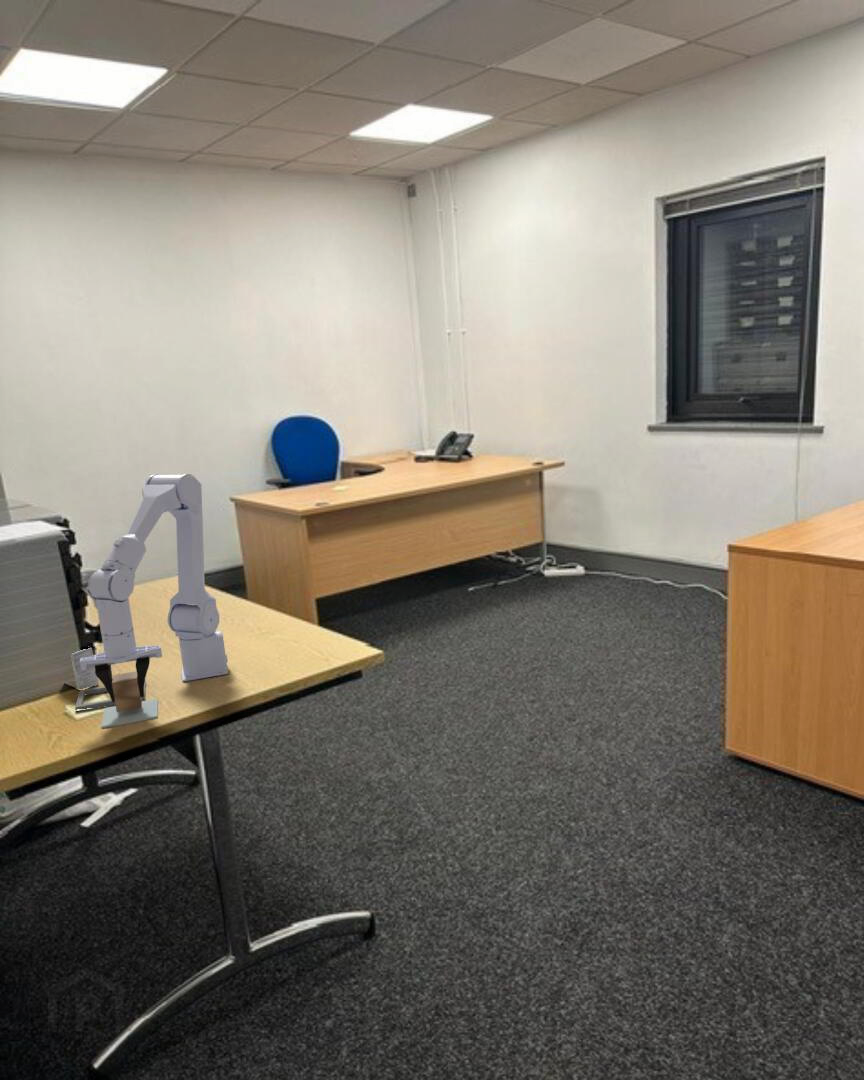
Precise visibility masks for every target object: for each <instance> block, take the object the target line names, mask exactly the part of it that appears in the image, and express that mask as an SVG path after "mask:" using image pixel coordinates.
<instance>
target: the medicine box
mask: <svg viewBox="0 0 864 1080" xmlns="http://www.w3.org/2000/svg"><path fill="white" fill-rule="evenodd" d="M93 655H94V652H93V648H92V647H90V648H88V649H83V650H80V651H77V652H75V653H72V654H71V661H72V666H73V671H74V675H75V681H76V686H77V688H78V689H83V688H87V687H91V686H94V687H97V686H98V685H99V678H98V677H97V676H96V674H95V667H94V668H88V669H87V670H83V671H81V666H80V659H81V658H84V657H89V656H93ZM96 685H97V686H96ZM91 688H92V687H91Z"/></svg>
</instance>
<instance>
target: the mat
mask: <svg viewBox="0 0 864 1080" xmlns="http://www.w3.org/2000/svg"><path fill="white" fill-rule="evenodd" d="M158 709H159V699H158V698H154V699H148V700H142V708H139V709H134V710H128V711H123V712H118V713H117V711H116V705H113V706H108V707H104V710H103V711H104V712H103V715H102V722H101V729H106V727H107V728H109V727H117V726H121V725H126V724H127V725H128V724H131V723H137V722H142V721H143V722H144V721H147V720H152V719H158V718H159V712H158V711H159V710H158Z"/></svg>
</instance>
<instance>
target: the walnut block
mask: <svg viewBox="0 0 864 1080" xmlns="http://www.w3.org/2000/svg"><path fill="white" fill-rule="evenodd" d="M112 678H113V680H112V687H113V693H114V699H115V705H114V706H116V711H117V713H118V712H123V711H128V710H134V709H139V708H142V701H143V700H142V697H140V692H139V681H138V676H137V671H136V670H135V671H130V672H125V673H118V674H112Z"/></svg>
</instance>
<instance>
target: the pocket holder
mask: <svg viewBox="0 0 864 1080" xmlns="http://www.w3.org/2000/svg"><path fill="white" fill-rule="evenodd" d="M146 690H147V682H146V679H145V683H144V697H142V701H146ZM78 692H79V693H78V696H77V699H76V703H75V706H74V709H75V711H76V710H77V709H87V708H96V709H99V708H98V707H102V708H105V707H104V706H107V707H114V706H116V705H115V702H112V700H111V698H109V699H105V700H98V701H94V702H87V703H83V701H84V702H85V699H84V698H86V696H85V694H92V695H96V693H97V694H102V693H108V691H107V689H106V688H105V686H104V685H103V686H95V687H91V688H89V689H85V690H80V691H78Z"/></svg>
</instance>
